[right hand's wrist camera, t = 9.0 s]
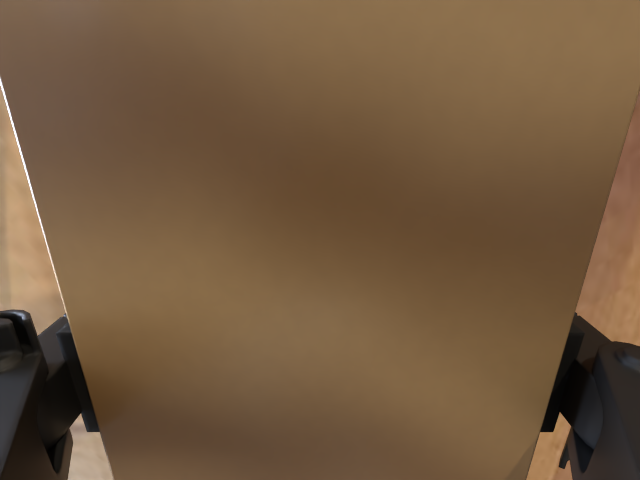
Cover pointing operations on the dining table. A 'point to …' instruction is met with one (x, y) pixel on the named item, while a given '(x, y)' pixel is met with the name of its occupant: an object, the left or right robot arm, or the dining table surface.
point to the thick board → (320, 221)
